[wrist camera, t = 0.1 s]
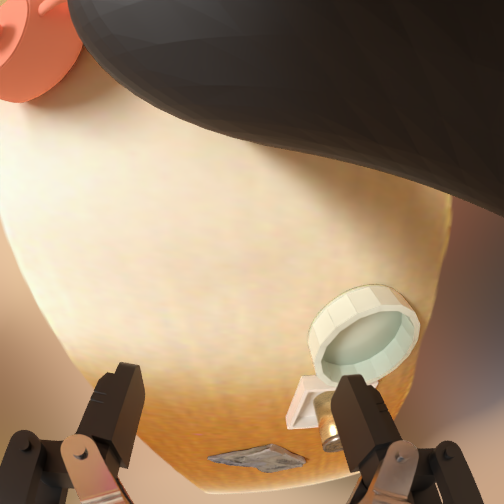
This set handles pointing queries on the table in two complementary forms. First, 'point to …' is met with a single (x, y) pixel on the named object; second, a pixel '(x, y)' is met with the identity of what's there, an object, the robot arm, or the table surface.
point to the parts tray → (307, 402)
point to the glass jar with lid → (327, 422)
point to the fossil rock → (262, 458)
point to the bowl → (362, 334)
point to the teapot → (35, 47)
